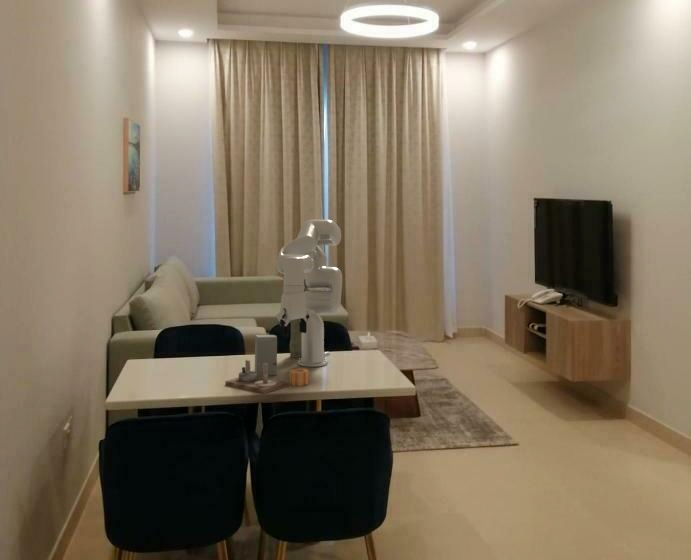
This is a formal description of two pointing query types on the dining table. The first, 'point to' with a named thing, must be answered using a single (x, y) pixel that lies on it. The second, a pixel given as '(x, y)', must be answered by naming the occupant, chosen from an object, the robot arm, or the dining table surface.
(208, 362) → the dining table surface
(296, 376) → the loose gear
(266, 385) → the gear board
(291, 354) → the thermos
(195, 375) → the dining table surface
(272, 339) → the skincare box
